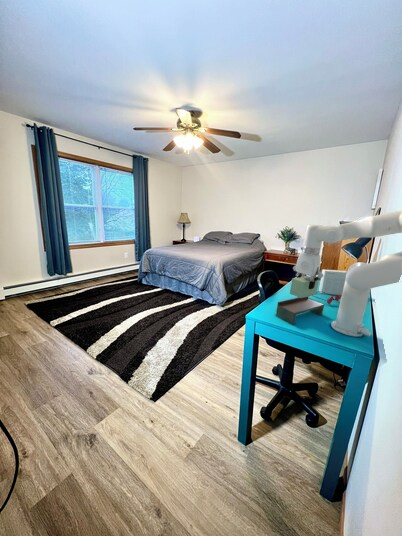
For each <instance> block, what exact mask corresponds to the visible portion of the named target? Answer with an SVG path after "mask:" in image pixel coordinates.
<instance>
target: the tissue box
mask: <svg viewBox="0 0 402 536" xmlns="http://www.w3.org/2000/svg"><path fill="white" fill-rule="evenodd" d="M310 281H311V277H310V276H309V275H301V277H298V278H297V277H293V278H291V283H290V290H289V294H290V295H293V296H295V297H296V298H297V297H299V298H304V297H308V296H309V297H313V296H316V295H317V293H316V292H318V289H319V284H320V279H319V280H317V281H316V282H315V287H314V288H313V289H309V284H310ZM312 295H313V296H312ZM309 297H308V298H309Z"/></svg>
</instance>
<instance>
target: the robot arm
mask: <svg viewBox="0 0 402 536" xmlns="http://www.w3.org/2000/svg"><path fill="white" fill-rule="evenodd" d="M401 233H402V209H401V210H396V211H391V212H386V213H382V214H377V215H371V216H368V217H365V218H362V219H359V220H355V221H350V222H346V223H341V224H336V225H335V224H334V225H325V226H323V225H321V224H308V225H306V229H305V234H304V239H303V244H302V246H301V247H300V250H301V251H302V252H299V254H298V258H297V260H296V264H295V265H294V266H293V267H292V270H293V272H294V275H295V278H298V277H301V276H303V275H304V276H310V277H311V281H310V284H309V289H313V288H314V287H315V282H316V281H317V280H319V281H320V280H321V278H322V277H323V274H322V270H321V261H322V260H321V259H322V258H321V257H322V256H321V254H320V253H321V248H322V245H323V242H324V243H329V244H335V243H338V242H341V241H346V240H351V239H352V240H353V239H360V238H378V237H383V236H390V235H396V234H401ZM346 271H347V273H346V279H345V284H344V288H343V292H342V295H340V298H341V299H340V300H339V306H338V309H337V313H336V319H335V320H333V321H331V324H330V326H331V328H332V329H333V330H335V331H336V332H338V333H340V334H343V335H346V336H350V337H355V338H357V337H362V336H366V337H370V336H371V335H372V332H371V329H368V328H366V327H365V324H364V323H363V319H364V315H365V312H366V308H367V304H368V301H369V297H370V293H371V289H373V288H379V287H384V286H388V285H393V284H397V283H400V282H399V280H400V277H401V275H402V251H399V252H395V253H389V254H386V255H383V256H382V257H380V258H379V259H378V260H376V261H371V262H369V263H366V262H361V261H360V262H359V261H357V262H355V263H352V264H351V265H350V266H349V267H348V268H347V270H346Z"/></svg>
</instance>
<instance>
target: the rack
mask: <svg viewBox="0 0 402 536" xmlns="http://www.w3.org/2000/svg"><path fill="white" fill-rule="evenodd" d="M309 297H310V296H308V297H304V298H299V297H297V296H296V297H293V298H288V299H284V300H280V301H277V306H276V312H275V316H276V317H277V318H279V319H281V320H283V321H285V322H287V323H288V324H290V325H295V323H296V317H297V315H301V314H303V313H307V312H312V313H314V314H317V315H319V316H323V313H324V308H325V304H324V303H321V302H319V301H317V300H314V299H311V298H309Z"/></svg>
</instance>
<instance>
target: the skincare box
mask: <svg viewBox="0 0 402 536" xmlns="http://www.w3.org/2000/svg"><path fill="white" fill-rule="evenodd" d="M321 273H322V274H323V277H322V278H320V279H319V285H318V292H319V291H322V292H319V293H320V294H322V295H329V294H331V295H334V296H335V295H340V296H342V292H343V288H344V284H345V279H346V273H347V270H337V269H322V270H321ZM323 292H325V293H323ZM326 293H328V294H326Z"/></svg>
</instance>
